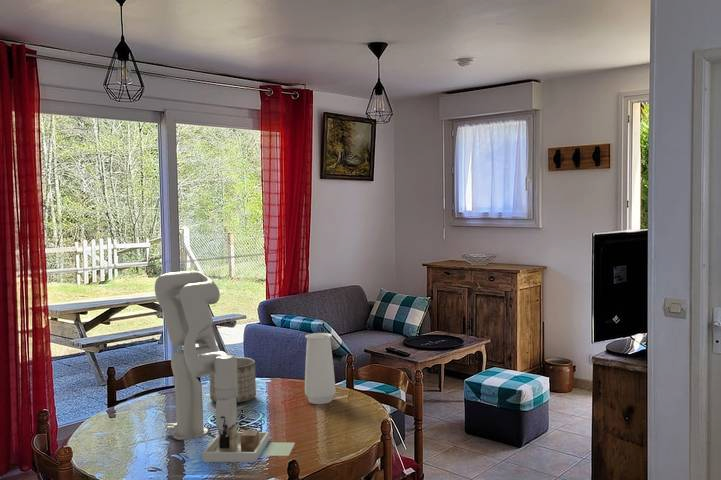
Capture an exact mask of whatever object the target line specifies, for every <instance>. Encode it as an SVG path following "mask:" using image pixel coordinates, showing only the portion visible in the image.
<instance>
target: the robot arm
mask: <svg viewBox="0 0 721 480" xmlns="http://www.w3.org/2000/svg"><path fill="white" fill-rule="evenodd" d="M154 293H155V297H156V300H157V302H158V304H159V307H160V308H161V311H162V313H163V317H164V321H165V325H166V329H167V334H168V339H169V340H170V343H171V345H172V346H174V347H177V348H178V347H180V348H181V347H183V349H180V350H178V351H176V352H175V353H174V354H173V355H172V357H171V360H170V364H171V370H172V374H173V380H174V381H173V382H174V392H175V393H174V394H175V396H174V397H175V398H174V399H175V418H176V422H174V423H172V422H169V423H168V422H167V423H166V425H165V428H166V430H167V431H173V432H172V438H173V439H175V440H178V441H182V440H185V441H186V440H193V439H199V438H202V437H204V436H206V435H207V434H208V433H209V430H208V428H207V427H205V426H204V407H203V405H204V404H203V403H204V402H203V387H202V383H201V382H200V380H199V379H198V378H203V377H207V376H209V375H213V374H214V379H215V398H216V399H217V401H216V402H215V428H216V429H217V430H218V429H219V440H220V448H221V449H229V447H230V442H229V436H228V433H229V428H230V427H231V426H232V425H237V419H238V406H237V404H238V403H236V397H237V396H238V386H237V360H236V356H234V355H232V354H228V353H227V352H225V351H223V350H218V346H217V342H216V339H215V333H214V330H213V327H212V325H213V323H214V321H213V318H212V314H211V312H210V311H211V310H210V308H209V305H215V304H217V303H218V302H219V301H220V298H221V297H220V296H221V295H220V290H219V287H218V286H217V284H216V282H214V281H213V280H212V279H211V278H210V277H209V276H207V275H206V274H204V273H203V272H201V271H200V270H186V271H175V272H174V271H173V272H167V273H164V274H161V275H160V276H158V277H157V278H156V280H155V284H154ZM178 297H179V298H178ZM196 345H198V346H196ZM224 426H227V427H224ZM224 430H226V432H225V431H224Z"/></svg>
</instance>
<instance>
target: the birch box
mask: <svg viewBox="0 0 721 480" xmlns="http://www.w3.org/2000/svg"><path fill="white" fill-rule="evenodd" d="M224 427H227V426H224ZM217 430H218V433H217V435H218V436H219V428H218V429H217ZM224 431H225V432H226V430H224ZM237 432H238V424H236V425H232V426H231V427H230V428H229V433H228V436H229V442H230V447H229V449H221V448H220V440H219V452H235V451H236V449H237V448H238V440H237Z"/></svg>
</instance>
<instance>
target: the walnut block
mask: <svg viewBox="0 0 721 480" xmlns="http://www.w3.org/2000/svg"><path fill="white" fill-rule="evenodd" d="M242 432H243V433H242V434H241V435H240V436H241V452H254V451H255V449H256V448H257V446H258V445H259V432H260V431H259V430H258V429H257V430H255V429H254V430H249V429H248V430H243V431H242Z"/></svg>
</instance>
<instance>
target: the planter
mask: <svg viewBox="0 0 721 480" xmlns="http://www.w3.org/2000/svg"><path fill="white" fill-rule="evenodd" d="M235 357H236V356H235ZM236 360H237V386H238V396H237V397H236V404H240V403H243V402H247V401H250V400H252V399H254V398H255V397H256V396H257V388H256V385H257V384H256V383H257V382H256V361H255V359H253V358H249V357H241V356H239V357H236ZM208 376H209V395H210V396H209V397H210V400H211V401H213V402H214V403H216V401H217V399H216V398H215V379H214V374H213V375H208Z"/></svg>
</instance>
